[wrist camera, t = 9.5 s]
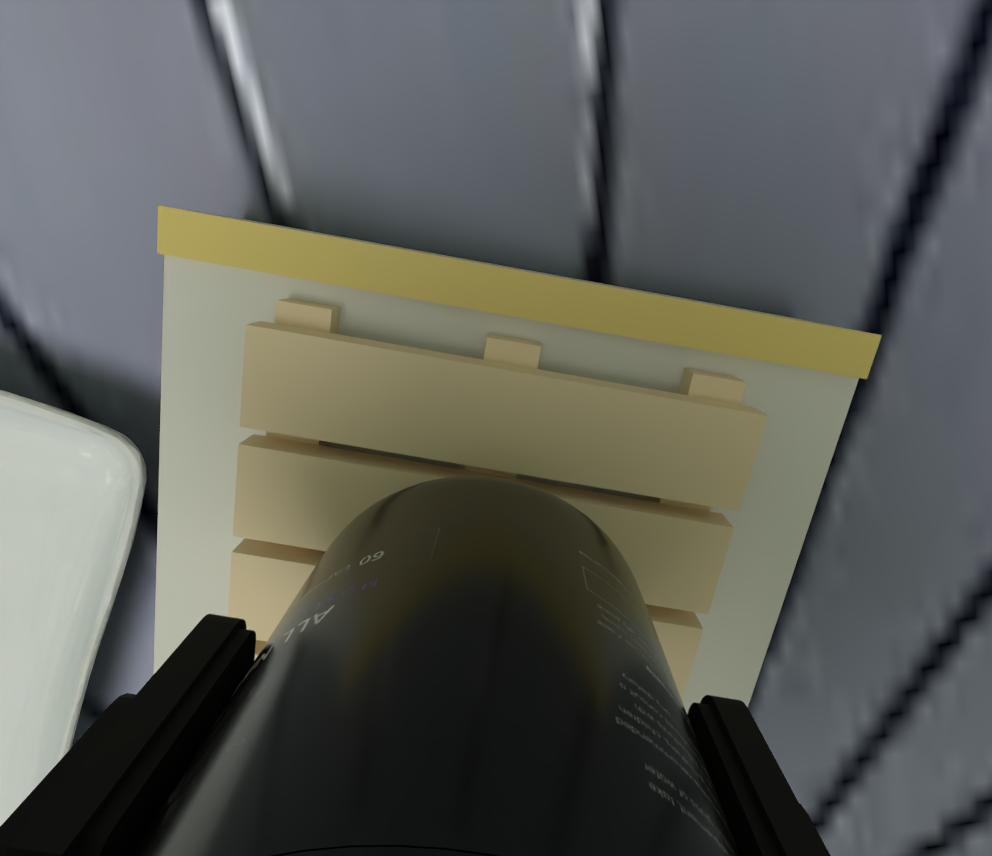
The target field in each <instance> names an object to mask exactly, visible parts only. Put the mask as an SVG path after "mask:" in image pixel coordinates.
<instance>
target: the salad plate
mask: <svg viewBox="0 0 992 856" xmlns="http://www.w3.org/2000/svg"><path fill="white" fill-rule="evenodd" d="M146 480H147V476H146V465H145V462H144V459H143V456H142V454H141V452H140V450H139V449H138V448H137V446H136V445H135V444H134V443H133V442H132V441H131V440H130V439H129V438H128V437H126V436H125V435H124V434H122V433H120V432H118V431H116V430H114V429H112V428H109V427H107V426H105V425H102V424H100V423H97V422H94V421H92V420H89V419H86V418H84V417H81V416H78V415H75V414H73V413H70V412H67V411H65V410H62V409H59V408H56V407H54V406H51V405H47V404H44V403H41V402H38V401H35V400H32V399H28V398H25V397H22V396H19V395H16V394H13V393H9V392H6V391H3V390H0V826H1V825H2V824H3V823H4V822H5V821H6V820H7V819H8V817H9V816H10V815H11V814H12V813H13V812H14V811H15V810H16V809H17V807H18V806H19V805H20V804H21V803H22V802H23V801H24V800H25V799H26V798H27V796H28V795H29V794H30V793H31V792H32V791H33V790H34V789H35V788H36V786H37V785H38V784H39V783H40V782H41V781H42V780H43V779H44V778H45V777H46V775H47V774H48V773H49V772H50V771H51V770H52V769H53V768H54V767H55V765H56V764H57V763H58V762H59V761H60V760H61V759H62V758H63V757H64V755H65V754H66V753H67V752H68V751H69V750H70V749H71V747H72V743H73V739H74V735H75V731H76V727H77V723H78V719H79V715H80V711H81V707H82V703H83V699H84V696H85V692H86V688H87V685H88V681H89V678H90V675H91V671H92V668H93V665H94V662H95V658H96V655H97V652H98V649H99V646H100V643H101V640H102V637H103V634H104V631H105V628H106V625H107V622H108V619H109V616H110V614H111V611H112V608H113V605H114V601H115V598H116V595H117V592H118V589H119V586H120V583H121V580H122V577H123V574H124V570H125V567H126V563H127V560H128V557H129V554H130V551H131V548H132V544H133V541H134V537H135V532H136V528H137V524H138V520H139V516H140V511H141V507H142V501H143V496H144V491H145V485H146Z"/></svg>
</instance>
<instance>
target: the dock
mask: <svg viewBox="0 0 992 856" xmlns="http://www.w3.org/2000/svg"><path fill="white" fill-rule="evenodd" d="M157 253H158V254H163V255H165V259H164V298H163V336H162V374H161V412H160V450H159V488H158V526H157V564H156V603H155V641H154V674H155V673H156V672H157V670H158V669H159V668H160V667H161V666H162V665H163V663H164V662H165V661H166V660H167V659H168V658H169V656H170V655H171V654H172V653H173V652H174V651H175V650H176V648H177V647H178V646H179V645H180V644H181V643H182V641H183V640H184V639H185V638H186V637H187V636H188V634H189V633H190V632H191V631H192V630H193V629H194V628H195V626H196V625H197V624H198V623H199V622H200V621H201V619H202V618H203V617H204V616H206V615H207V614H215V615H221V616H227V617H233V618H239V619H244V620H245V621H246V629H247V630H253V631H255V633H256V646H255V659H256V658H257V656H258V655H259V653H260V652H261V650H262V648H263V647H264V645H265V644H266V642H267V641H268V639H269V638H270V636H271V634H272V633H273V631H274V630H275V628H276V627H277V625H278V623H279V622H280V620H281V619H282V617H283V616H284V614H285V613H286V611H287V609H288V608H289V606H290V605H291V603H292V602H293V600H294V598H295V597H296V595H297V594H298V592H299V591H300V589H301V588H302V586H303V584H304V583H305V581H306V580H307V578H308V577H309V575H310V574H311V572H312V571H313V570H314V568H315V567H316V565H317V564H318V562H319V561H320V559H321V558H322V556H323V555H324V553H325V552H326V551H327V549H328V548H329V546H330V545H331V544H332V542H333V541H334V540H335V539H336V538H337V536H338V535H339V534H340V533H341V532H342V531H343V530H344V529H345V528H346V526H347V525H348V524H349V523H351V522H352V521H353V520H354V519H355V518H356V517H357V516H358V515H359V514H361V513H362V512H363V511H365V510H366V509H368V508H369V507H370V506H372V505H373V504H375V503H377V502H378V501H380V500H382V499H384V498H385V497H387V496H389V495H391V494H393V493H396V492H398V491H400V490H402V489H405V488H408V487H411V486H414V485H416V484H419V483H423V482H427V481H431V480H436V479H441V478H449V477H459V476H484V477H494V478H501V479H508V480H512V481H516V482H520V483H524V484H527V485H530V486H533V487H536V488H539V489H541V490H544V491H546V492H548V493H550V494H553V495H555V496H557V497H558V498H560V499H562V500H564V501H565V502H567V503H569V504H571V505H572V506H573V507H575V508H576V509H578V510H579V511H581V512H582V513H583V514H585V515H586V516H587V517H588V518H590V519H591V520H592V521H593V522H594V523H595V524H597V525H598V526H599V527H600V528H601V529H602V530H603V531H604V533H605V534H606V535H607V536H608V537H609V538H610V539H611V540H612V542H613V543H614V544H615V546H616V547H617V548H618V550H619V551H620V553H621V554H622V556H623V558H624V559H625V561H626V562H627V564H628V566H629V568H630V569H631V571H632V574H633V576H634V578H635V580H636V582H637V584H638V587H639V589H640V592H641V594H642V597H643V599H644V602H645V604H646V606H647V609H648V611H649V614H650V616H651V619H652V622H653V624H654V627H655V630H656V633H657V635H658V638H659V641H660V643H661V646H662V649H663V651H664V654H665V657H666V659H667V662H668V665H669V667H670V670H671V673H672V675H673V678H674V681H675V683H676V686H677V689H678V691H679V694H680V697H681V700H682V702H683V705H684V708H685V710H686V713H687V714H688V710H689V708H690V706H691V704H692V703H695V702H696V703H700V702H701V700H702V698H703V697H704V696H706V695H712V696H718V697H724V698H730V699H736V700H741V701H742V702H744V703H745V705H746V706H747V708H748V705H749V702H750V699H751V696H752V693H753V690H754V687H755V684H756V681H757V678H758V675H759V672H760V669H761V666H762V663H763V660H764V658H765V655H766V652H767V649H768V646H769V643H770V640H771V637H772V634H773V631H774V628H775V625H776V622H777V619H778V616H779V613H780V610H781V607H782V604H783V601H784V598H785V595H786V592H787V590H788V587H789V584H790V581H791V578H792V575H793V572H794V569H795V566H796V563H797V560H798V557H799V554H800V551H801V548H802V545H803V542H804V539H805V536H806V533H807V530H808V527H809V524H810V522H811V519H812V516H813V513H814V510H815V507H816V504H817V501H818V498H819V495H820V492H821V489H822V486H823V483H824V480H825V477H826V474H827V471H828V468H829V465H830V462H831V459H832V456H833V454H834V451H835V448H836V445H837V442H838V439H839V436H840V433H841V430H842V427H843V424H844V421H845V418H846V415H847V412H848V409H849V406H850V403H851V400H852V397H853V394H854V391H855V388H856V385H857V383H858V380H859V378H863V379H867V377H868V374H869V372H870V369H871V366H872V363H873V360H874V357H875V354H876V351H877V348H878V345H879V342H880V339H881V336H882V335H877V334H872V333H868V332H863V331H858V330H853V329H848V328H843V327H838V326H833V325H828V324H823V323H818V322H813V321H808V320H803V319H798V318H792V317H787V316H781V315H776V314H770V313H765V312H759V311H753V310H748V309H742V308H737V307H731V306H726V305H720V304H714V303H709V302H703V301H698V300H692V299H687V298H681V297H675V296H670V295H664V294H659V293H653V292H648V291H642V290H636V289H631V288H625V287H620V286H614V285H609V284H603V283H598V282H592V281H586V280H581V279H575V278H570V277H564V276H559V275H553V274H547V273H542V272H536V271H531V270H525V269H520V268H514V267H508V266H503V265H497V264H492V263H486V262H481V261H475V260H469V259H464V258H458V257H453V256H447V255H442V254H436V253H430V252H425V251H419V250H414V249H408V248H403V247H397V246H392V245H386V244H380V243H375V242H369V241H364V240H358V239H353V238H347V237H341V236H336V235H330V234H325V233H319V232H314V231H308V230H302V229H297V228H291V227H286V226H280V225H275V224H269V223H263V222H258V221H252V220H247V219H241V218H235V217H228V216H222V215H216V214H209V213H203V212H197V211H190V210H184V209H177V208H171V207H165V206H158V240H157ZM255 659H254V661H255Z"/></svg>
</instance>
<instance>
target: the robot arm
mask: <svg viewBox="0 0 992 856" xmlns="http://www.w3.org/2000/svg"><path fill="white" fill-rule="evenodd" d="M255 646H256V633H255V631H253V630H247V629H246V621H245V620H244V619H239V618H233V617H227V616H221V615H215V614H207V615H206V616H204V617H203V618H202V619H201V621H200V622H199V623H198V624H197V625H196V626H195V628H194V629H193V630H192V631H191V632H190V633H189V634H188V636H187V637H186V638H185V639H184V640H183V641H182V643H181V644H180V645H179V646H178V647H177V648H176V650H175V651H174V652H173V653H172V654H171V655H170V656H169V658H168V659H167V660H166V661H165V662H164V663H163V665H162V666H161V667H160V668H159V669H158V670H157V672H156V673H155V674H154V675H153V676H152V677H151V678H150V680H149V681H148V682H147V683H146V684H145V685H144V687H143V688H142V689H141V690H140V691H139V692H138V694H137V695H135V694H128V693H126V694H124V695H122V696H119V697H118V698H117V699H116V700H115V701H114V702H113V703H112V704H111V705H110V706H109V707H108V708H107V709H106V710H105V711H104V712H103V713H102V715H101V716H100V717H99V718H98V719H97V720H96V721H95V722H94V723H93V724H92V726H91V727H90V728H89V729H88V730H87V731H86V732H85V733H84V734H83V736H82V737H81V738H80V739H79V740H78V741H77V742H76V743H75V744H74V746H73V747H72V748H71V749H70V750H69V751H68V752H67V753H66V754H65V755H64V757H63V758H62V759H61V760H60V761H59V762H58V763H57V764H56V765H55V767H54V768H53V769H52V770H51V771H50V772H49V773H48V774H47V775H46V777H45V778H44V779H43V780H42V781H41V782H40V783H39V784H38V785H37V786H36V788H35V789H34V790H33V791H32V792H31V793H30V794H29V795H28V796H27V798H26V799H25V800H24V801H23V802H22V803H21V804H20V805H19V806H18V807H17V809H16V810H15V811H14V812H13V813H12V814H11V815H10V816H9V817H8V819H7V820H6V821H5V822H4V823H3V824H2V825H1V826H0V856H130V855H131V853H132V852H133V850H134V849H135V847H136V845H137V844H138V842H139V841H140V839H141V838H142V836H143V834H144V833H145V831H146V830H147V828H148V827H149V825H150V824H151V822H152V820H153V819H154V817H155V816H156V814H157V813H158V811H159V809H160V808H161V806H162V805H163V803H164V802H165V800H166V799H167V797H168V795H169V794H170V792H171V791H172V789H173V788H174V786H175V784H176V783H177V781H178V780H179V778H180V777H181V775H182V774H183V772H184V770H185V769H186V767H187V766H188V764H189V763H190V761H191V759H192V758H193V756H194V755H195V753H196V752H197V750H198V749H199V747H200V745H201V744H202V742H203V741H204V739H205V738H206V736H207V734H208V733H209V731H210V730H211V728H212V727H213V725H214V724H215V722H216V720H217V719H218V717H219V716H220V714H221V713H222V711H223V709H224V708H225V706H226V705H227V703H228V702H229V700H230V699H231V697H232V695H233V694H234V692H235V691H236V689H237V688H238V686H239V684H240V683H241V681H242V680H243V678H244V677H245V675H246V674H247V672H248V670H249V669H250V667H251V666H252V664H253V663H254V659H255ZM687 716H688V718H689V721H690V724H691V726H692V729H693V732H694V734H695V737H696V740H697V742H698V745H699V748H700V750H701V753H702V756H703V759H704V761H705V764H706V767H707V769H708V772H709V775H710V777H711V780H712V783H713V785H714V788H715V791H716V793H717V796H718V799H719V801H720V804H721V807H722V809H723V812H724V815H725V817H726V820H727V823H728V826H729V828H730V831H731V834H732V836H733V839H734V842H735V844H736V847H737V850H738V852H739V855H740V856H830V854H829V852H828V850H827V849H826V847H825V845H824V843H823V841H822V839H821V837H820V836H819V834H818V832H817V830H816V828H815V826H814V825H813V823H812V821H811V819H810V817H809V815H808V814H807V812H806V811H805V809H804V808H803V807H802V805H801V804H799V803H798V801H797V799H796V797H795V795H794V793H793V791H792V790H791V788H790V786H789V784H788V782H787V780H786V778H785V777H784V775H783V773H782V771H781V769H780V767H779V765H778V764H777V762H776V760H775V758H774V756H773V754H772V752H771V750H770V749H769V747H768V745H767V743H766V741H765V739H764V737H763V736H762V734H761V732H760V730H759V728H758V726H757V724H756V723H755V721H754V719H753V717H752V715H751V713H750V711H749V709H748V708H747V706H746V705H745V703H744V702H742V701H741V700H736V699H730V698H724V697H718V696H712V695H706V696H704V697H703V698H702V700H701V702H700V703H696V702H695V703H692V704H691V706H690V708H689V710H688V714H687Z"/></svg>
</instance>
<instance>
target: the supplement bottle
mask: <svg viewBox="0 0 992 856" xmlns="http://www.w3.org/2000/svg"><path fill="white" fill-rule="evenodd" d="M130 856H740V855H739V852H738V850H737V847H736V844H735V842H734V839H733V836H732V834H731V831H730V828H729V826H728V823H727V820H726V817H725V815H724V812H723V809H722V807H721V804H720V801H719V799H718V796H717V793H716V791H715V788H714V785H713V783H712V780H711V777H710V775H709V772H708V769H707V767H706V764H705V761H704V759H703V756H702V753H701V750H700V748H699V745H698V742H697V740H696V737H695V734H694V732H693V729H692V726H691V724H690V721H689V718H688V716H687V713H686V710H685V708H684V705H683V702H682V700H681V697H680V694H679V691H678V689H677V686H676V683H675V681H674V678H673V675H672V673H671V670H670V667H669V665H668V662H667V659H666V657H665V654H664V651H663V649H662V646H661V643H660V641H659V638H658V635H657V633H656V630H655V627H654V624H653V622H652V619H651V616H650V614H649V611H648V609H647V606H646V604H645V602H644V599H643V597H642V594H641V592H640V589H639V587H638V584H637V582H636V580H635V578H634V576H633V574H632V571H631V569H630V568H629V566H628V564H627V562H626V561H625V559H624V558H623V556H622V554H621V553H620V551H619V550H618V548H617V547H616V546H615V544H614V543H613V542H612V540H611V539H610V538H609V537H608V536H607V535H606V534H605V533H604V531H603V530H602V529H601V528H600V527H599V526H598V525H597V524H595V523H594V522H593V521H592V520H591V519H590V518H588V517H587V516H586V515H585V514H583V513H582V512H581V511H579V510H578V509H576V508H575V507H573V506H572V505H571V504H569V503H567V502H565V501H564V500H562V499H560V498H558V497H557V496H555V495H553V494H550V493H548V492H546V491H544V490H541V489H539V488H536V487H533V486H530V485H527V484H524V483H520V482H516V481H512V480H508V479H501V478H494V477H484V476H459V477H449V478H441V479H436V480H431V481H427V482H423V483H419V484H416V485H414V486H411V487H408V488H405V489H402V490H400V491H398V492H396V493H393V494H391V495H389V496H387V497H385V498H384V499H382V500H380V501H378V502H377V503H375V504H373V505H372V506H370V507H369V508H368V509H366V510H365V511H363V512H362V513H361V514H359V515H358V516H357V517H356V518H355V519H354V520H353V521H352V522H351V523H349V524H348V525H347V526H346V528H345V529H344V530H343V531H342V532H341V533H340V534H339V535H338V536H337V538H336V539H335V540H334V541H333V542H332V544H331V545H330V546H329V548H328V549H327V551H326V552H325V553H324V555H323V556H322V558H321V559H320V561H319V562H318V564H317V565H316V567H315V568H314V570H313V571H312V572H311V574H310V575H309V577H308V578H307V580H306V581H305V583H304V584H303V586H302V588H301V589H300V591H299V592H298V594H297V595H296V597H295V598H294V600H293V602H292V603H291V605H290V606H289V608H288V609H287V611H286V613H285V614H284V616H283V617H282V619H281V620H280V622H279V623H278V625H277V627H276V628H275V630H274V631H273V633H272V634H271V636H270V638H269V639H268V641H267V642H266V644H265V645H264V647H263V648H262V650H261V652H260V653H259V655H258V656H257V658H256V659H255V661H254V663H253V664H252V666H251V667H250V669H249V670H248V672H247V674H246V675H245V677H244V678H243V680H242V681H241V683H240V684H239V686H238V688H237V689H236V691H235V692H234V694H233V695H232V697H231V699H230V700H229V702H228V703H227V705H226V706H225V708H224V709H223V711H222V713H221V714H220V716H219V717H218V719H217V720H216V722H215V724H214V725H213V727H212V728H211V730H210V731H209V733H208V734H207V736H206V738H205V739H204V741H203V742H202V744H201V745H200V747H199V749H198V750H197V752H196V753H195V755H194V756H193V758H192V759H191V761H190V763H189V764H188V766H187V767H186V769H185V770H184V772H183V774H182V775H181V777H180V778H179V780H178V781H177V783H176V784H175V786H174V788H173V789H172V791H171V792H170V794H169V795H168V797H167V799H166V800H165V802H164V803H163V805H162V806H161V808H160V809H159V811H158V813H157V814H156V816H155V817H154V819H153V820H152V822H151V824H150V825H149V827H148V828H147V830H146V831H145V833H144V834H143V836H142V838H141V839H140V841H139V842H138V844H137V845H136V847H135V849H134V850H133V852H132V853H131V855H130Z"/></svg>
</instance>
